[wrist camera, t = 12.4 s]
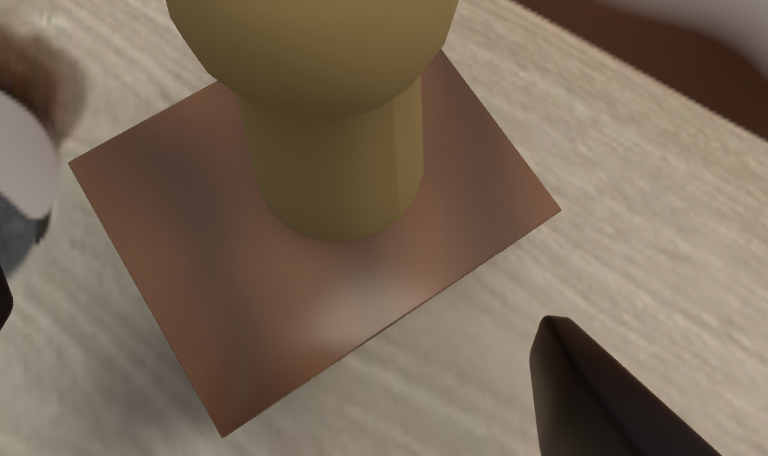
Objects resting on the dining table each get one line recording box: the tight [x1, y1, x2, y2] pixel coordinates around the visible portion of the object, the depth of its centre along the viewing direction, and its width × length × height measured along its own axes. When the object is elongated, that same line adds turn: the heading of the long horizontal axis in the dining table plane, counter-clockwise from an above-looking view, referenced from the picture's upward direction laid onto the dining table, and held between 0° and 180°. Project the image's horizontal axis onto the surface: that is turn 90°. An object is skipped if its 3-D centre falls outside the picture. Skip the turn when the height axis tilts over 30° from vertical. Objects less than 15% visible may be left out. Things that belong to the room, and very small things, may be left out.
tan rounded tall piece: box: [166, 0, 458, 242], centre depth 13 cm, size 6×6×11 cm
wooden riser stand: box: [68, 49, 561, 438], centre depth 20 cm, size 14×11×4 cm
